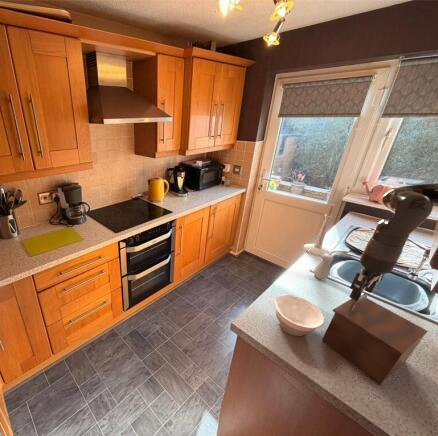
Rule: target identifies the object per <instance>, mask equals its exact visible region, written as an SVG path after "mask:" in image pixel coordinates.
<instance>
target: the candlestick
mask: <svg viewBox="0 0 438 436" xmlns="http://www.w3.org/2000/svg"><path fill="white" fill-rule="evenodd" d="M335 206H336V204H334V203H330V204H329V207H328V210H327V213H326V214H324V216H325V217H324V219H325V220H324V221H323V223H322V225H321V228H320V230H319V233H318V235H317V237H316V240H315V242H314V243H306V244H304V245H303V250H304V251H305V252H307V251H308V250H309V249H310V248H311V247H312V248H311V249H310V250H309V251H308V252H309V253H308V252H307V253H308V254H310V253H312V254H311V255H313V254H314V255H313V256H316V255H317V257H322V255H323V254H329V255H331V252H330V250H329V249H327V248H326V247H325V246H323V243H324V239H325V236H326V234H327V229H328V226H329V221H330V220H331V219H332V218H333V217H334V216H333V215H332V214H333V212H334V209H335Z"/></svg>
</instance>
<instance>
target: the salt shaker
mask: <svg viewBox="0 0 438 436" xmlns="http://www.w3.org/2000/svg"><path fill="white" fill-rule="evenodd" d="M320 257H321V260H320V262H319V263H318V265H317V266H316V267H315V268H314V271H313V274H314V277H315V276H316V277H317V278H319V279H318V280H320V279H324V280H326V279H327V278H328V277H329V275H330V266H331V262H333V260H334V257H333V256H332V255H331V254H323V255H322V256H320ZM316 277H315V278H316ZM317 278H316V279H317Z"/></svg>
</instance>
